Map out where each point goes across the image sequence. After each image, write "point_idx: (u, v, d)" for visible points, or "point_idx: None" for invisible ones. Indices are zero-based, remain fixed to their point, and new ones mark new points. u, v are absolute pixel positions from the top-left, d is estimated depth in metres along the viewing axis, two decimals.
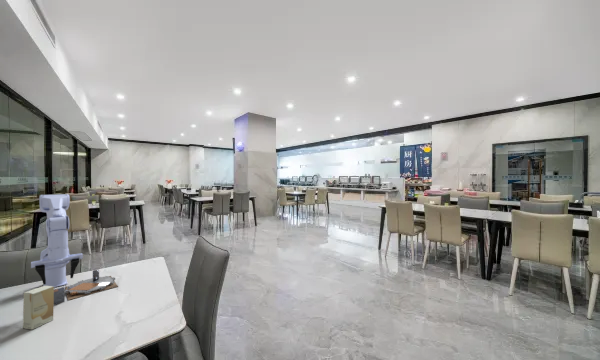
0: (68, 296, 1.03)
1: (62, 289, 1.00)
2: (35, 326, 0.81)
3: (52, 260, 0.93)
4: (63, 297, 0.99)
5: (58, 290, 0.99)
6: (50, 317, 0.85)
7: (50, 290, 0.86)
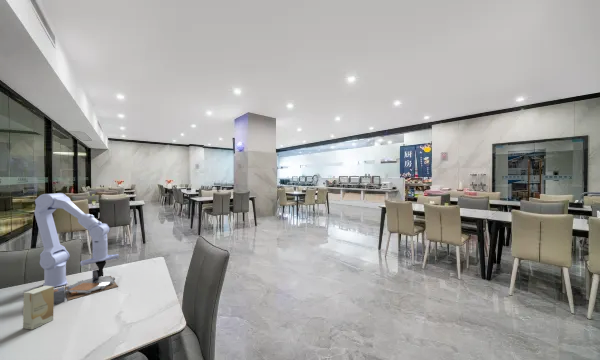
0: (68, 296, 1.03)
1: (62, 289, 1.00)
2: (35, 326, 0.81)
3: (96, 259, 1.16)
4: (63, 297, 0.99)
5: (58, 290, 0.99)
6: (50, 317, 0.85)
7: (50, 290, 0.86)
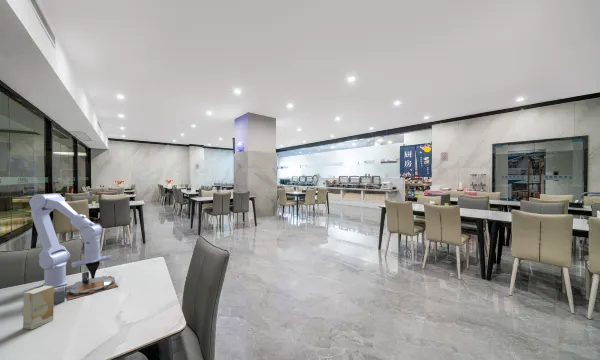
0: (68, 296, 1.03)
1: (62, 289, 1.00)
2: (35, 326, 0.81)
3: (88, 261, 1.13)
4: (63, 297, 0.99)
5: (58, 290, 0.99)
6: (50, 317, 0.85)
7: (50, 290, 0.86)
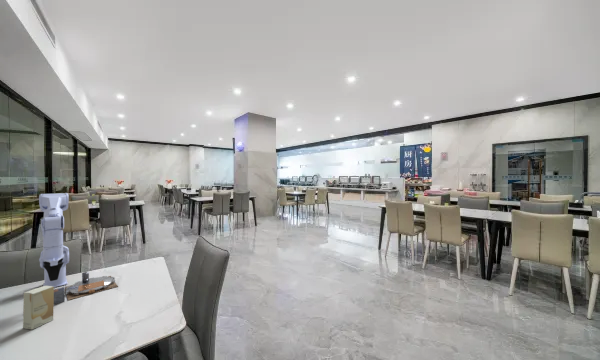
0: (68, 296, 1.03)
1: (62, 289, 1.00)
2: (35, 326, 0.81)
3: None
4: (63, 297, 0.99)
5: (58, 290, 0.99)
6: (50, 317, 0.85)
7: (50, 290, 0.86)
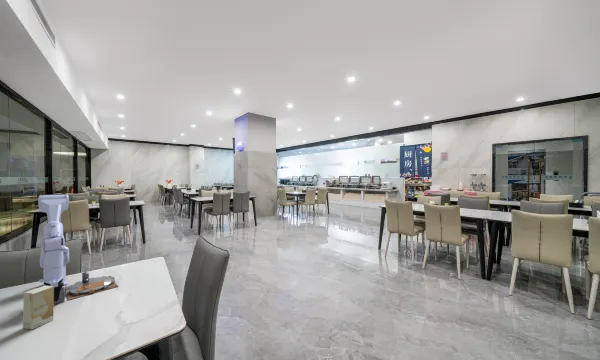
0: (68, 296, 1.03)
1: (62, 289, 0.99)
2: (35, 326, 0.81)
3: None
4: (63, 297, 0.99)
5: None
6: (50, 317, 0.85)
7: (50, 290, 0.86)
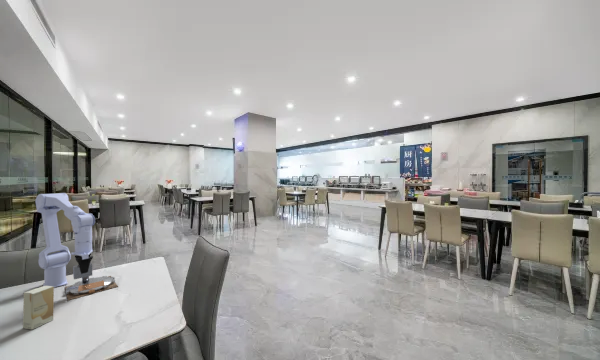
0: (68, 296, 1.03)
1: (90, 263, 1.08)
2: (35, 326, 0.81)
3: None
4: (91, 271, 1.07)
5: None
6: (50, 317, 0.85)
7: (50, 290, 0.86)
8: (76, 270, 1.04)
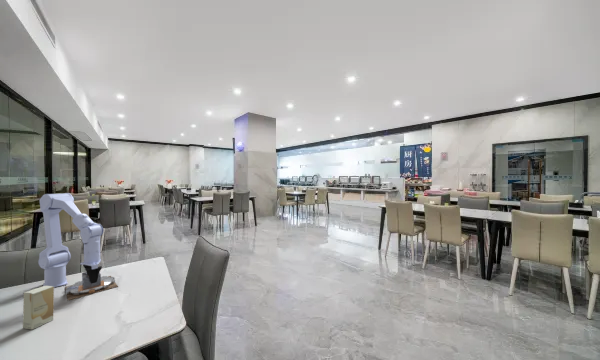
0: (68, 296, 1.03)
1: None
2: (35, 326, 0.81)
3: None
4: (99, 280, 1.10)
5: None
6: (50, 317, 0.85)
7: (50, 290, 0.86)
8: (85, 280, 1.07)
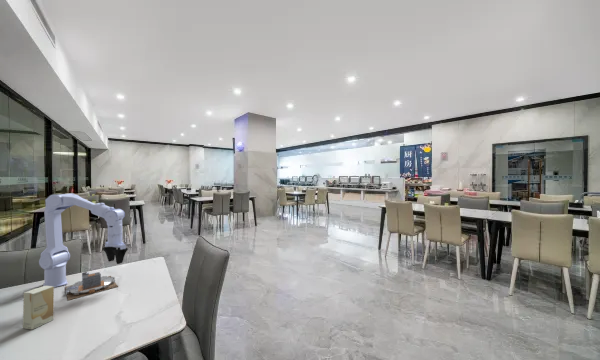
0: (68, 296, 1.03)
1: (98, 273, 1.11)
2: (35, 326, 0.81)
3: (107, 244, 1.15)
4: (99, 280, 1.10)
5: (95, 274, 1.10)
6: (50, 317, 0.85)
7: (50, 290, 0.86)
8: (85, 280, 1.07)
